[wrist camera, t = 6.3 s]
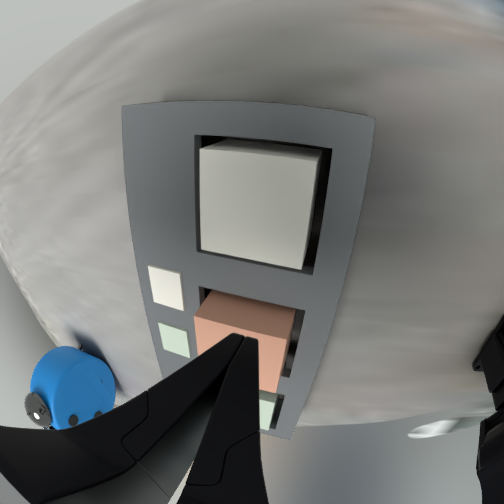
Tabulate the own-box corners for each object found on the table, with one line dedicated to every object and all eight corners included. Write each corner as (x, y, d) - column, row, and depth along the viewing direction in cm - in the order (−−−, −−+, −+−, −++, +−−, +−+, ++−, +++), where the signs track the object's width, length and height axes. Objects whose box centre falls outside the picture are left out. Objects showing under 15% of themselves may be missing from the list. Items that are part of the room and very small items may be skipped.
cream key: (322, 150, 15) (316, 161, 12) (309, 239, 17) (301, 269, 15) (227, 139, 16) (199, 148, 13) (224, 224, 19) (201, 249, 16)
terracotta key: (298, 300, 18) (286, 339, 15) (286, 356, 21) (275, 393, 18) (216, 282, 19) (193, 315, 16) (218, 338, 22) (200, 371, 19)
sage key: (284, 370, 24) (274, 403, 21) (277, 401, 26) (268, 430, 23) (225, 355, 25) (210, 384, 22) (225, 388, 28) (213, 414, 25)
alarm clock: (69, 327, 36) (6, 394, 23) (96, 338, 34) (29, 416, 21) (101, 383, 42) (55, 444, 29) (128, 395, 40) (81, 463, 27)
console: (367, 115, 14) (376, 118, 11) (298, 408, 28) (289, 441, 24) (160, 101, 17) (119, 106, 13) (186, 377, 31) (169, 404, 27)
